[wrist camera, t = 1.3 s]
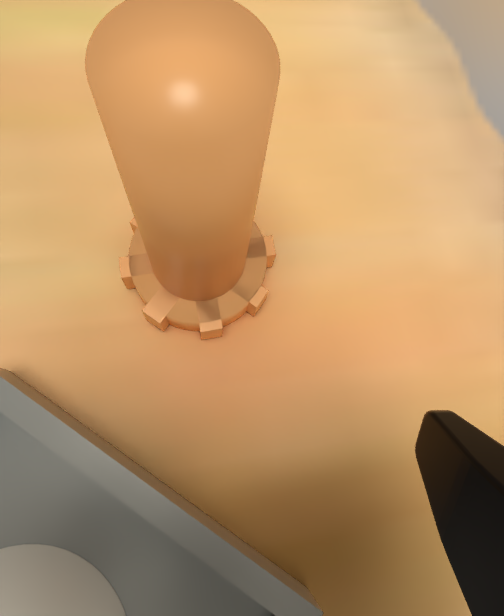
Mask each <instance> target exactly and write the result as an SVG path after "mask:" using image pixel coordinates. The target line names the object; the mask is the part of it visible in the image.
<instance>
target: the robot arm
mask: <svg viewBox="0 0 504 616" xmlns="http://www.w3.org/2000/svg"><path fill="white" fill-rule="evenodd" d="M415 453H416V458H417V462H418V465H419V469H420V472H421V475H422V479H423V482H424V485H425V489H426V492H427V495H428V499H429V502H430V505H431V509H432V512H433V515H434V519H435V522H436V525H437V529H438V532H439V535H440V538H441V541H442V543H443V546H444V549H445V551H446V554H447V556H448V559H449V561H450V563H451V566H452V568H453V571H454V573H455V576H456V578H457V580H458V583H459V585H460V588H461V590H462V592H463V595H464V597H465V600H466V602H467V604H468V607H469V609H470V612H471V614H472V616H504V446H503V445H501V444H500V443H498V442H497V441H495V440H494V439H492V438H491V437H489V436H488V435H486V434H485V433H483V432H482V431H480V430H479V429H478V428H476V427H475V426H473V425H472V424H470V423H469V422H467V421H466V420H464V419H463V418H461V417H460V416H458V415H457V414H455V413H454V412H452V411H449V410H431V411H428V412H426V414H425V415H424V418H423V421H422V424H421V428H420V431H419V435H418V438H417V441H416V447H415Z"/></svg>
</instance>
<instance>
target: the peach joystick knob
mask: <svg viewBox="0 0 504 616" xmlns="http://www.w3.org/2000/svg"><path fill="white" fill-rule="evenodd" d="M85 69H86V75H87V80H88V83H89V86H90V89H91V92H92V95H93V98H94V101H95V104H96V106H97V109H98V112H99V115H100V118H101V121H102V124H103V127H104V130H105V133H106V136H107V139H108V141H109V144H110V147H111V150H112V153H113V156H114V159H115V162H116V165H117V168H118V171H119V173H120V176H121V179H122V182H123V185H124V188H125V191H126V194H127V197H128V200H129V203H130V205H131V208H132V211H133V214H134V218H133V219H132V220H131V221H130V224H131V227H132V230H133V232H134V235H133V237H132V240H131V243H130V248H129V256H126V257H119V264H120V272H121V278H122V280H123V282H124V284H125V286H126V287H127V289H132V288H136V289H137V291H138V293H139V295H140V297H141V299H142V300H143V302H144V303H145V305H146V306H145V307H144V309H143V310H142V312H143V314H144V316H145V318H146V320H147V321H149V322H150V323H152V324H153V325H155V326H156V327H157V328H159V329H160V330H162V331H163V332H164V331H165V329H166V328H167V327H168V325H169V324H170V325H172V326H174V327H177V328H181V329H184V330H191V331H200V335H201V340H204V339H209V338H215V337H221V336H222V332H223V326H226V325H228V324H230V323H232V322H234V321H235V320H237V319H238V318H239V317H241V316H242V315H243V314H244V313H245V312H248V313H249V314H251V315H252V316H255V314H256V313H257V311H258V310H259V308H260V307H261V306H262V304H263V303H264V301H265V299H266V297H267V294H268V291H269V290H267V289H266V288H264V287H263V286H261V285H262V282H263V279H264V275H265V272H266V268H268V267H272V265H273V262H274V259H275V256H276V252H275V248H274V243H273V239H272V235H271V236H264V237H263V236H262V234H261V232H260V230H259V228H258V227H257V225H256V223H255V222H254V221H253V220H254V214H255V209H256V204H257V198H258V193H259V187H260V182H261V177H262V171H263V166H264V160H265V155H266V150H267V144H268V139H269V133H270V128H271V123H272V117H273V112H274V106H275V101H276V96H277V90H278V85H279V78H280V59H279V54H278V50H277V47H276V45H275V42H274V40H273V38H272V36H271V34H270V33H269V31H268V30H267V28H266V27H265V26H264V24H263V23H262V22H261V21H260V20H259V19H258V18H257V17H256V16H255V15H254V14H253V13H251V12H250V11H249V10H248V9H246V8H245V7H243V6H242V5H240V4H239V3H237V2H235V1H233V0H126V1H124V2H122V3H121V4H119V5H118V6H116V7H115V8H114V9H112V10H111V11H110V12H109V13H108V14H107V15H106V16H105V17H104V18H103V19H102V20H101V21H100V22H99V24H98V25H97V27H96V28H95V30H94V31H93V34H92V36H91V38H90V40H89V43H88V46H87V50H86V57H85Z"/></svg>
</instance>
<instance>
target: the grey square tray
mask: <svg viewBox="0 0 504 616" xmlns="http://www.w3.org/2000/svg"><path fill="white" fill-rule="evenodd" d="M322 615H323V611H322V610H321V608H320V607H319V605H318V604H317V602H316V600H315V599H314V597H313V596H312V594H311V593H310V591H309V590H308V588H307V587H306V586H304V585H303V584H301V583H300V582H299V581H297V580H296V579H295V578H293V577H292V576H290V575H289V574H288V573H286V572H285V571H284V570H282V569H281V568H279V567H278V566H277V565H275V564H274V563H273V562H271V561H270V560H269V559H267V558H266V557H264V556H263V555H262V554H260V553H259V552H258V551H256V550H255V549H253V548H252V547H251V546H249V545H248V544H247V543H245V542H244V541H242V540H241V539H240V538H238V537H237V536H236V535H234V534H233V533H231V532H230V531H229V530H227V529H226V528H225V527H223V526H222V525H220V524H219V523H218V522H216V521H215V520H214V519H212V518H211V517H209V516H208V515H207V514H205V513H204V512H203V511H201V510H200V509H198V508H197V507H196V506H194V505H193V504H192V503H190V502H189V501H187V500H186V499H185V498H183V497H182V496H181V495H179V494H178V493H176V492H175V491H174V490H172V489H171V488H170V487H168V486H167V485H165V484H164V483H163V482H161V481H160V480H159V479H157V478H156V477H154V476H153V475H152V474H150V473H149V472H148V471H146V470H145V469H144V468H142V467H141V466H139V465H138V464H137V463H135V462H134V461H133V460H131V459H130V458H128V457H127V456H126V455H124V454H123V453H122V452H120V451H119V450H117V449H116V448H115V447H113V446H112V445H111V444H109V443H108V442H106V441H105V440H104V439H102V438H101V437H100V436H98V435H97V434H95V433H94V432H93V431H91V430H90V429H89V428H87V427H86V426H84V425H83V424H82V423H80V422H79V421H78V420H76V419H75V418H73V417H72V416H71V415H69V414H68V413H67V412H65V411H64V410H62V409H61V408H60V407H58V406H57V405H56V404H54V403H53V402H51V401H50V400H49V399H47V398H46V397H45V396H43V395H42V394H40V393H39V392H38V391H36V390H35V389H34V388H32V387H31V386H29V385H28V384H27V383H25V382H24V381H23V380H21V379H20V378H19V377H17V376H16V375H14V374H13V373H12V372H10V371H8V370H5V369H2V368H0V616H322Z"/></svg>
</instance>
